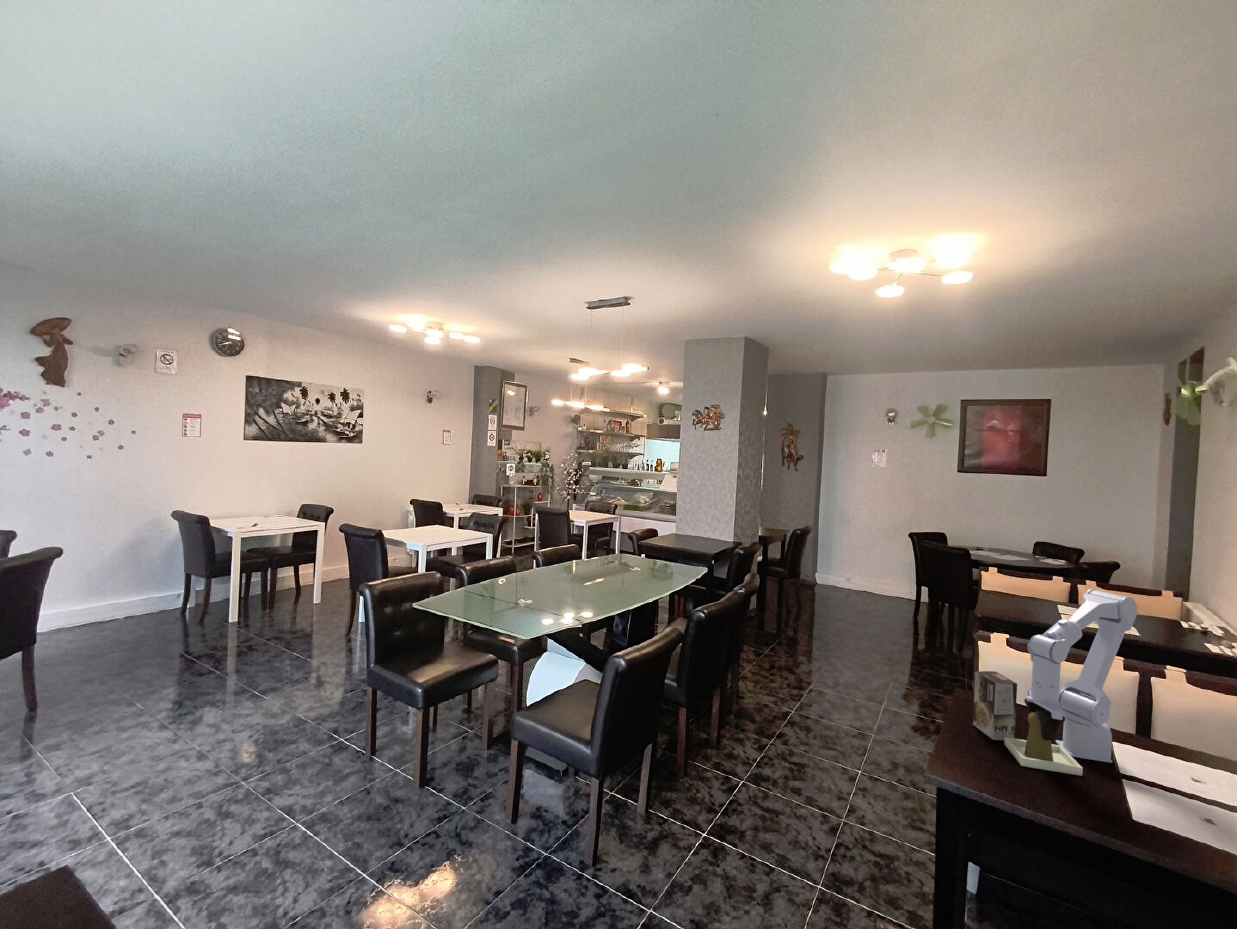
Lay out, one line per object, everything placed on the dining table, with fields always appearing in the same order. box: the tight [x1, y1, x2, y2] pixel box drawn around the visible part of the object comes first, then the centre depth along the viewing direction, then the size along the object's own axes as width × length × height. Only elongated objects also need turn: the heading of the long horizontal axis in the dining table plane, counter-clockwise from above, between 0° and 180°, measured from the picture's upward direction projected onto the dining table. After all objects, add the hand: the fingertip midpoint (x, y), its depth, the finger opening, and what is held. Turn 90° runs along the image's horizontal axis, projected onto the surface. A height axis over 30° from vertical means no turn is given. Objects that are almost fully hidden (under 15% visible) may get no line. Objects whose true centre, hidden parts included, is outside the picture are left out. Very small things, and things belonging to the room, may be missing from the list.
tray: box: [1003, 737, 1084, 777], centre depth 143 cm, size 13×11×2 cm
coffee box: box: [972, 670, 1018, 741], centre depth 156 cm, size 9×6×16 cm
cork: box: [1024, 712, 1053, 762], centre depth 143 cm, size 6×6×11 cm
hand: (1042, 734), depth 143 cm, fingers open, 5 cm apart
